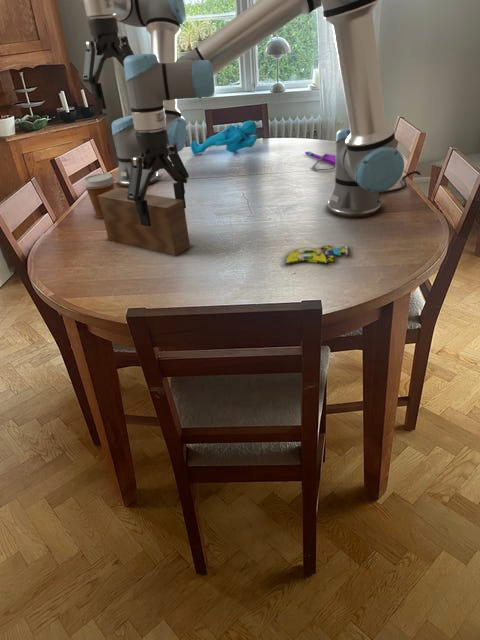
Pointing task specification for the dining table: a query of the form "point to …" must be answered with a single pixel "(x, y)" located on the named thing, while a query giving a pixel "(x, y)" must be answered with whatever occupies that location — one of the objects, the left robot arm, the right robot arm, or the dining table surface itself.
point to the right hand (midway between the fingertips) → (164, 216)
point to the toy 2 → (315, 255)
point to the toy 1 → (230, 138)
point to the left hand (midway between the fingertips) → (119, 104)
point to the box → (126, 225)
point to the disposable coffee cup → (98, 189)
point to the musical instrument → (325, 157)
